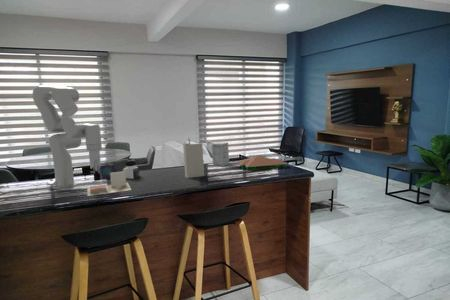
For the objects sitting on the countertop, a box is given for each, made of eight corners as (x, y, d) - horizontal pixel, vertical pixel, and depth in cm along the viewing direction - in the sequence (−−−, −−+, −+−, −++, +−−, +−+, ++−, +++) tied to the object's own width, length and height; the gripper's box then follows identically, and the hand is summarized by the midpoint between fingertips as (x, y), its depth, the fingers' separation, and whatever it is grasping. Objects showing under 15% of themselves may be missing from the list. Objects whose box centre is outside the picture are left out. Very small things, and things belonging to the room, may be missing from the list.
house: (234, 165, 226) (234, 155, 225) (275, 162, 233) (275, 152, 232) (243, 172, 204) (242, 160, 203) (288, 168, 211) (288, 156, 210)
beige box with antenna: (204, 176, 195) (202, 137, 191) (187, 178, 191) (185, 138, 187) (200, 174, 202) (199, 136, 198) (184, 176, 198) (182, 137, 194)
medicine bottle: (134, 180, 190) (132, 161, 188) (123, 179, 191) (122, 161, 189) (139, 177, 197) (138, 159, 195) (129, 177, 198) (127, 159, 196)
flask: (99, 179, 194) (98, 163, 193) (100, 178, 197) (98, 162, 196) (115, 177, 197) (113, 161, 196) (115, 177, 200) (113, 161, 199)
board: (87, 197, 155) (87, 196, 154) (87, 189, 171) (87, 187, 171) (131, 191, 163) (131, 189, 163) (127, 184, 180) (127, 182, 180)
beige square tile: (111, 187, 170) (110, 173, 169) (111, 186, 172) (109, 172, 171) (126, 185, 173) (125, 171, 172) (125, 184, 175) (124, 171, 174)
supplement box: (229, 164, 230) (228, 142, 228) (223, 166, 223) (222, 144, 220) (219, 163, 235) (218, 142, 233) (212, 165, 228) (211, 143, 225)
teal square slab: (90, 190, 166) (90, 193, 159) (89, 186, 165) (90, 190, 158) (105, 187, 169) (106, 191, 162) (105, 184, 169) (106, 187, 161)
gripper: (86, 146, 166) (89, 178, 169) (86, 149, 153) (89, 184, 156) (101, 145, 169) (104, 176, 172) (102, 148, 156) (105, 182, 159)
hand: (97, 180), depth 164 cm, fingers closed
